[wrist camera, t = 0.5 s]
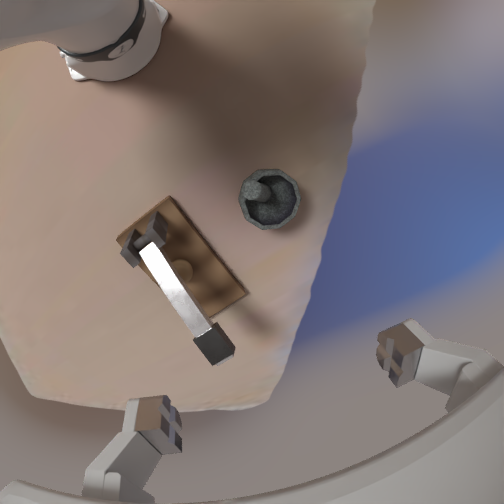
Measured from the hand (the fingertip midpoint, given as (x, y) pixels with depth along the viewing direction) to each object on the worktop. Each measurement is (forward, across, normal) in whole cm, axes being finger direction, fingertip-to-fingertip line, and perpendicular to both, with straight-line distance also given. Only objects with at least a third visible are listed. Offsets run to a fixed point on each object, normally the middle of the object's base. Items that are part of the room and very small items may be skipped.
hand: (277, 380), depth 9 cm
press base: (+42, +9, +11) cm, 44 cm away
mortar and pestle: (+42, -7, +1) cm, 42 cm away
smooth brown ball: (+40, +10, +10) cm, 42 cm away
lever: (+31, +9, +13) cm, 34 cm away
